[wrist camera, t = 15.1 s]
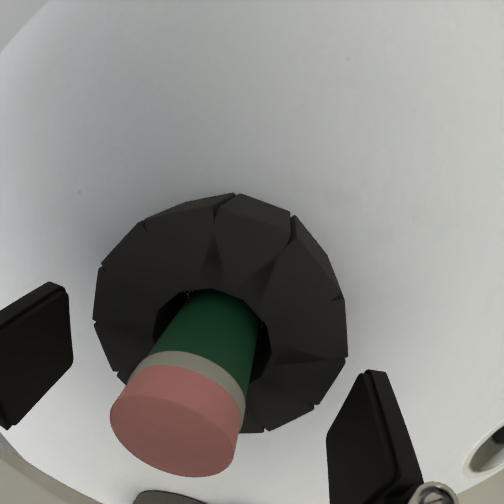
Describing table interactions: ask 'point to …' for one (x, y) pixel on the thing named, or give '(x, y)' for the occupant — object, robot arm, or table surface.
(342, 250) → the table surface
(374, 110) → the table surface
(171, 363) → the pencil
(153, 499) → the mug
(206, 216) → the black toy tire
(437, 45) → the table surface
